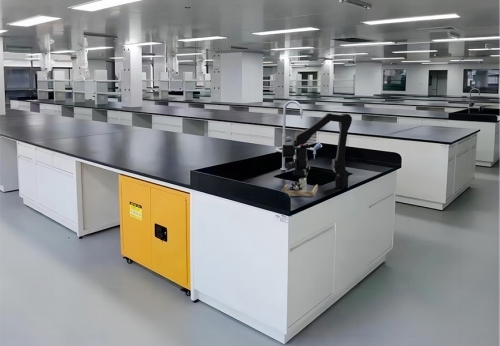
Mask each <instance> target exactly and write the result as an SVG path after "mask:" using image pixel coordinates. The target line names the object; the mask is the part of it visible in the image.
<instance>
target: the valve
mask: <svg viewBox="0 0 500 346" xmlns="http://www.w3.org/2000/svg"><path fill="white" fill-rule="evenodd" d="M298 182H299V183H298ZM298 182H297V181H295V182H294V183H293V182H292V183H291V184H290V185H291V186H290V187H289V190H291V191H307V185H308V184H307V177H306V178H299V177H298Z"/></svg>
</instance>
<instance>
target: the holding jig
mask: <svg viewBox="0 0 500 346" xmlns="http://www.w3.org/2000/svg"><path fill="white" fill-rule="evenodd" d="M318 185H319V184H315V185H314V187H313V189H312V190H306V191H297V190H295V191H292V189H289V183H286V184H285V185H284V186H283V187H282V188H281V189H280V191H283V192H285V193H287V194H288V195H289V196H290V197H315V195H316V194H317V191H318V189H319V186H318ZM280 191H279V192H280Z"/></svg>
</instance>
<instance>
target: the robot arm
mask: <svg viewBox="0 0 500 346" xmlns="http://www.w3.org/2000/svg"><path fill="white" fill-rule="evenodd" d="M330 122H335V123H336V122H337V123H338V127H339V135H338V141H337V147H336V156H335V158H332V159H331V165H330V167H331V168H332V171H333V172H334V173H335V175H336V177H335V178H334V179H335V181H334V185H335V188H336V189H349V188H350V184H349V178H350V172H349V171H348V170H347V169H346V160H345V159H346V158H345V153H346V148H347V147H346V146H347V142H348V141H347V139H348V132H349V130H350V127H351V125H352V122H353V118H352V116H351V114H348V113H341V114H334V113H330V112H328V113H326V114H325V115H324V116H323V117H322V118H320V119H319V120H317V121H316V122H315V123H314V124H312V125H311V126H310V127H309V128H307V129H305V130H302V131H300V132H299V133H297V134H296V135H295V139H294V141H293V142H292V143H291V144H282V147H281V149H282V150H281V154H282V158H294V156H295V157H296V158H295V160H294V161H291V162H290V161H288V162H286V164H285V169H286V171H290V170H292V169H294V170H293V171H292V175H293V176H297V177H298V179H299V178H306V179H307V176H308V174H309V170H311V166H310V164H308V159H309V158H308V149H311V146H310V145H309V144H308V143H307V142H308V141H309V140H310V139H311V138H312V136H314V135H315V134H316V133H317V132H318V131H320V130H321V129H322V128H323V127H326V125H327V124H329V123H330ZM307 170H308V171H307Z"/></svg>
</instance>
